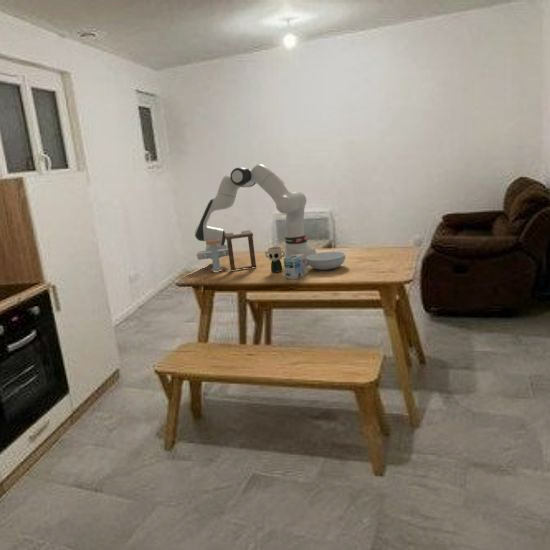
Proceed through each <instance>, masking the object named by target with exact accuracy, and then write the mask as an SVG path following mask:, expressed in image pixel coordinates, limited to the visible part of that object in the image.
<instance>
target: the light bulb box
mask: <svg viewBox="0 0 550 550" xmlns="http://www.w3.org/2000/svg"><path fill="white" fill-rule="evenodd" d="M282 258H283V267H284V276H285V279H287V278H288V279H289V280H297V279H299V278H301V277H304V276H306V275H307V274H308V272H307V264H306V258H305V254H293V255H290V256H288V257H282Z"/></svg>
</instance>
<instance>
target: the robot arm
mask: <svg viewBox="0 0 550 550" xmlns="http://www.w3.org/2000/svg"><path fill="white" fill-rule="evenodd" d="M256 184H257V185H258V186H259V187H260V188H261V189H262V190H264V192H266V193H267V194H268V196H269V197H270V198H271V199H272V200H273V202H274V204H275V207H276V210H277V212H279V213H280V214H284V215H286V216H285V219H284V220H285V221H284V224H283V225H284V234H285V236H284V242H285V247H284V252H285V257H288V256H290V255H293V254H305V258H306V257H307V256H309V255H312V254H316V253H317V251H316V249H315V248H314V247H313V246H312V245H311V244H310V243H309V242H308V238H309V237H308V236H306V234H305V225H304V217H305V208H306V206H307V205H306V204H307V197H306V195H305V194H304V193H303V192H300V191H292V192H291V191H289V190H288V188H287V187H286V185H285V182H284V180H282V179H281V178H280V177H279V176H278V175H277V174H276V173H275V172H273V171H272V170H271V169H270V168H269V167H268V166H266V165H263V164H259V163H258V164H256V165H255V166H253V168H247V167H239V166H238V167H236V168H233V169H232V171H231V173H230V174H229V175H225V176H223V178H222V179H221V181H220V184H219V186H218V190H217V193H216V195H215V197H214V198H211V199H210V200H209V201H208V203H207V206H206V207H205V210H204V212H203V214H202V217H201V219H200V221H199V223H198V225H197V227H196V228H195V232H194V237H195V238H196V240H197V241H199V242H206V240H212V239H220V241H221V243H219V244H217V249H218V256H219V259H220V258H224V257H229V253H228V246H227V244H226V241H227V240H226V238H225V236H224V234H226V232H225V230H224V229H223V228H219V227H215V226H210V225H208V222H209V220H210V217H211V214H212V213H213V212H215V211H220V210H227V209H229V208H231V207H233V205H234V203H235V201H236V197H237V193H238V190H239V189H240V188H251V187H253V186H255V185H256ZM285 257H284V258H285ZM196 258H197V260H201V261H202V260H205V259H207V260H208V259H211V260H212V254H211V247H210V245H206V246H205V250H202V251H198V252H197V253H196ZM306 265H308V263H307V260H306Z"/></svg>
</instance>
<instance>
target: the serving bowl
mask: <svg viewBox="0 0 550 550" xmlns="http://www.w3.org/2000/svg"><path fill="white" fill-rule="evenodd" d="M306 260H307V263H308V264H307V265H308V266H310V268H313V269H315V270H319V271H331V270H333V269H335V268H339V267H340V266H342V265H343V264H344V262H345V260H346V253H345V252H343V251H342V252H341V251H325V252H316V254H312V255H309V256H307V257H306Z"/></svg>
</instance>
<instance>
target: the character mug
mask: <svg viewBox="0 0 550 550" xmlns="http://www.w3.org/2000/svg"><path fill="white" fill-rule="evenodd" d="M264 253H265V258H267V259H268V260H269V261H271V262H270V271H271V272H272V273H275V272H277V273H278V272H281V271H282V270H283V265H282V261H281V260H282V258H285V250H282V247H281V246H271V247H268V248H267V251H265V252H264ZM274 271H275V272H274Z"/></svg>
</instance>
